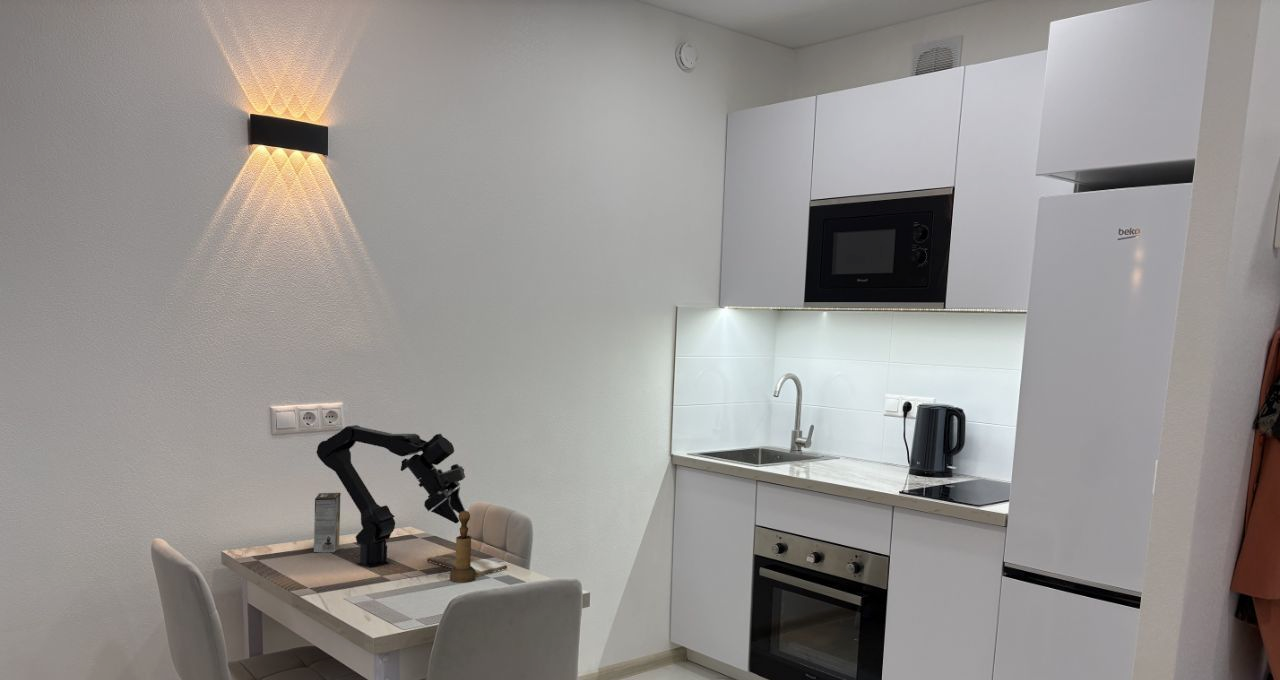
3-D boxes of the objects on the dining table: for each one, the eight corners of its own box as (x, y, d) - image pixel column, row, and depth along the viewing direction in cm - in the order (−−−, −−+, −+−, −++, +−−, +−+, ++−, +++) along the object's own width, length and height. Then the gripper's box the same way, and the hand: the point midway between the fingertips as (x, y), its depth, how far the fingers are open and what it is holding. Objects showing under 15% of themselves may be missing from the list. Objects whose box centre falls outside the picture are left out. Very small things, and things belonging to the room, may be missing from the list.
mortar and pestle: (453, 583, 222) (455, 514, 222) (446, 577, 228) (448, 509, 228) (478, 580, 225) (480, 512, 225) (471, 574, 231) (473, 508, 231)
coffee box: (317, 545, 258) (318, 492, 258) (339, 545, 260) (341, 492, 260) (313, 553, 249) (314, 498, 250) (336, 552, 251) (337, 497, 251)
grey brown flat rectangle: (477, 576, 229) (477, 572, 229) (427, 561, 243) (427, 557, 243) (507, 569, 237) (507, 564, 237) (456, 555, 251) (456, 551, 251)
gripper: (442, 461, 226) (478, 508, 226) (456, 450, 244) (490, 493, 245) (408, 487, 226) (444, 533, 226) (425, 474, 244) (459, 517, 245)
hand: (461, 518), depth 235 cm, fingers open, 9 cm apart
